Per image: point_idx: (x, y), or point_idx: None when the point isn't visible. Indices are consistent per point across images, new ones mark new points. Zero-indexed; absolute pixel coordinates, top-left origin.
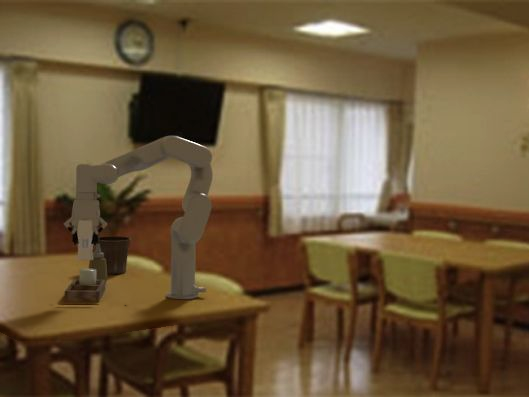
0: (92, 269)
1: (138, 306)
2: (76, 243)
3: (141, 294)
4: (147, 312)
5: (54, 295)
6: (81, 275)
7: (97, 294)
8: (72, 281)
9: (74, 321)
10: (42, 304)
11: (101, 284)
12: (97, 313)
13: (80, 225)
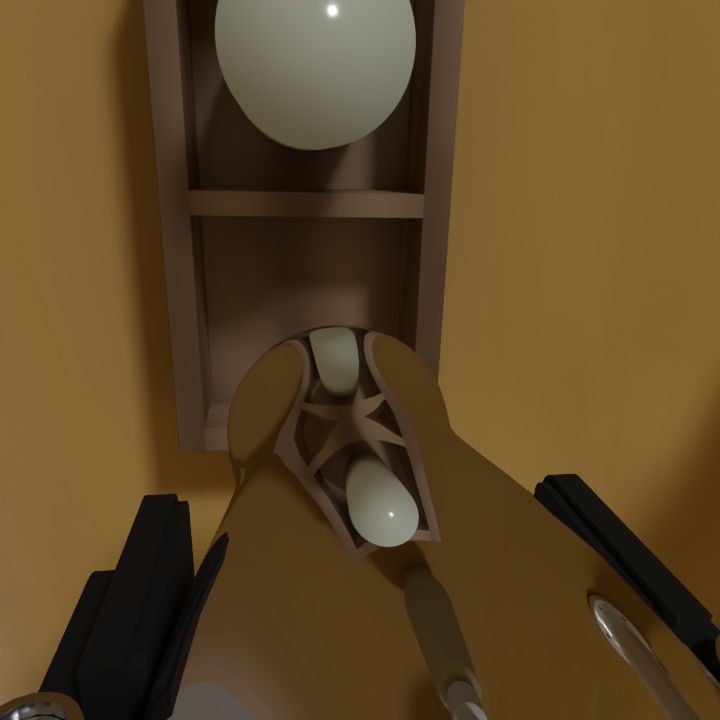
0: (367, 4)
1: (635, 429)
2: (191, 572)
3: (707, 52)
4: (661, 551)
5: (27, 89)
6: (253, 122)
7: None
8: (144, 2)
9: None
10: (42, 410)
11: (440, 165)
12: None
13: None
